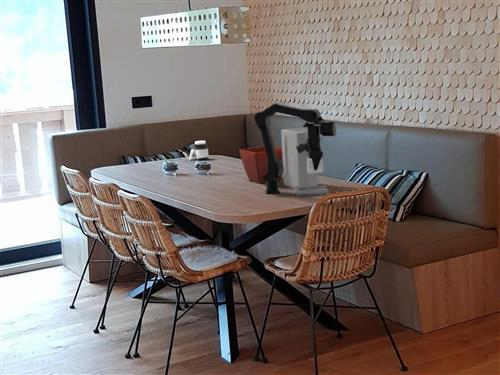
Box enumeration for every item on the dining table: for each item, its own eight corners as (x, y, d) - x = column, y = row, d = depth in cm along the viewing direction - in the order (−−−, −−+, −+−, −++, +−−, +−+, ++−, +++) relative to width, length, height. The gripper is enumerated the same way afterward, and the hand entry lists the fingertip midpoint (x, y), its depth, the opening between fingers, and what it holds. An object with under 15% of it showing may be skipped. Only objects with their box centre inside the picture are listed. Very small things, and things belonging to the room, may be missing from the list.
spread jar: (210, 159, 492) (209, 141, 490) (194, 161, 487) (193, 143, 484) (201, 157, 502) (200, 140, 500) (186, 159, 497) (184, 141, 495)
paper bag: (326, 186, 381) (324, 130, 375) (299, 190, 375) (297, 133, 370) (309, 181, 398) (307, 127, 393) (283, 184, 393) (280, 129, 387)
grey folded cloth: (294, 192, 371) (294, 184, 370) (325, 190, 371) (325, 182, 370) (296, 196, 361) (296, 188, 360) (328, 194, 361) (328, 186, 361)
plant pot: (240, 180, 411) (238, 149, 408) (271, 176, 419) (270, 145, 416) (257, 185, 394) (255, 152, 391) (289, 180, 403) (288, 148, 400)
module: (307, 171, 366) (306, 157, 365) (322, 170, 366) (321, 156, 365) (308, 173, 361) (307, 159, 360) (323, 172, 361) (322, 158, 360)
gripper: (295, 135, 370) (296, 167, 372) (297, 139, 351) (299, 173, 354) (318, 133, 370) (319, 165, 372) (322, 138, 351) (323, 172, 354)
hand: (315, 169), depth 363 cm, fingers closed on module, 5 cm apart
